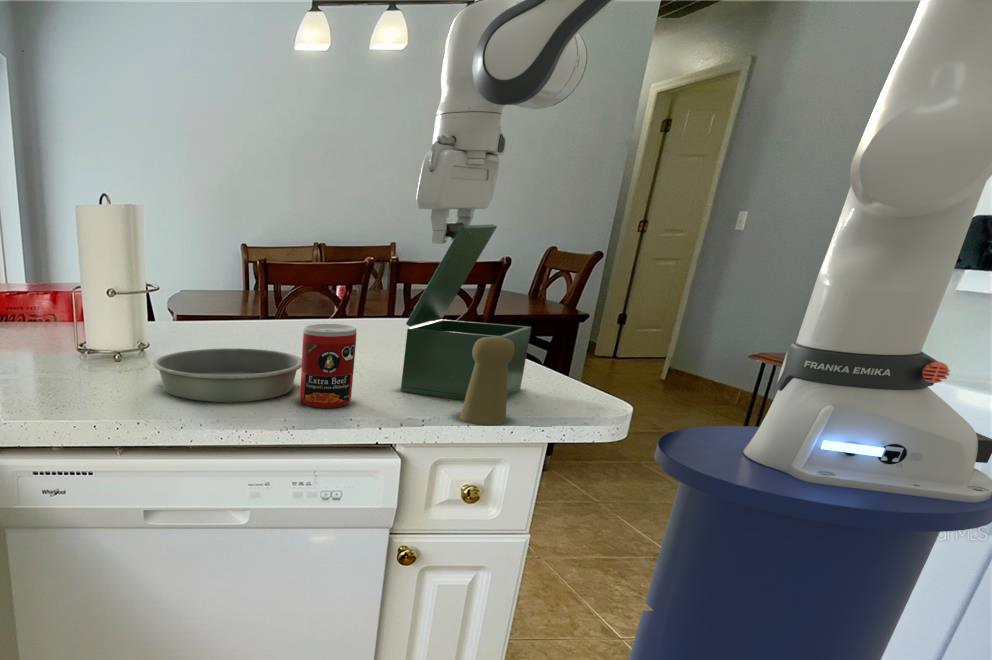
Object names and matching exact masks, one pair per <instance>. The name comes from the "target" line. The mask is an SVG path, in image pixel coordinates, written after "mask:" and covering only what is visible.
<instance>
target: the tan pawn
mask: <svg viewBox="0 0 992 660" xmlns="http://www.w3.org/2000/svg"><path fill="white" fill-rule="evenodd" d="M514 351H515V348H514V343H513V341H511V340H510V339H507V338H503V337H484V338H480V339H478V340H477V341H476V343H475V344H474V347H473V352H472V354H473V359H474V360H475V365H474V369H473V372H472V376H471V379H470V383H469V386H468V390H467V393H466V397H465V400H463V405H462V408H461V412H460V415H459V419H460V420H461V421H464V422H465V423H470V424H475V425H485V426H486V425H487V426H494V425H501V424H505V423H507V401H508V400H507V399H508V396H507V369H508V363H509V362H510V361H511V360H512V358H513V356H514Z"/></svg>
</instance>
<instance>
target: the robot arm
mask: <svg viewBox="0 0 992 660" xmlns="http://www.w3.org/2000/svg"><path fill="white" fill-rule="evenodd" d="M615 1H616V0H522V1H520V2H519V3H517V2H516V1H515V0H475V1H473V2H471V3H469V4H467V5H465V7H463V9H461V10H460V11H459V12H458V13H457V14H456V15H455V17H454V20H453V22H452V24H451V26H450V30H449V34H448V38H447V42H446V46H445V51H444V56H443V61H442V62H443V63H442V69H441V76H440V86H441V87H440V88H441V96H440V102H439V106H437V110H436V112H435V120H434V127H433V134H432V142H431V146H430V149H429V151H427V152H426V154H425V156H424V158H423V161H422V164H421V169H420V175H419V179H418V185H417V190H416V198H415V203H416V207H417V209H419V210H431V213H430V223H431V228H432V229H431V230H432V233H431V243H432V244H438V245H442V244H446V243H447V241H448V237H447V236H448V231H446V230H447V223H448V222H447V221H448V220H447V219H448V218H449V216H450V210H457V212H456V219H457V220H456V223H457V222H461V223H463V224H464V225H465V226H470V225H471V223H472V221H473V219H474V216H475V215H474V214H475V210H486V209H488V208H489V206H490V204H491V202H492V199H493V197H494V194H495V193H494V192H495V189H496V184H497V180H498V174H499V170H500V169H499V168H500V157H499V156H503V155H504V154H505V153H506V152H505V151H506V147H507V139H506V137H505V135H504V134H503V131H502V127H501V120H502V113H503V109H504V108H505V107H506V106H514V107H515V106H516V107H519V108H526V109H530V110H542V109H547V108H549V107H553V106H555V105H558V104H559V103H561V102H563V101H564V100H565V99H567V98H568V97H569V96H570V95H571V94H572V93H574V91H575V90H576V89H577V87H578V86H579V84H580V83H581V80H582V78H583V77H584V74H585V71H586V69H587V64H588V49H587V45H586V42H585V39H584V38H583V37H582V36H581V34H579V33H580V32H581V31H582V30H583V29H584V28H586V26H588V25H589V24H590V23H592V21H594V19H596V18H597V17H598V16H599V15H601V13H602V12H604V11H605V10H606V9H607V8H608V7H610V5H612V4H613V3H614V2H615ZM849 170H850V171H849V183H850V187H849V190H848V193H847V196H846V199H845V201H844V204H843V207H842V210H841V213H840V215H839V218H838V221H837V224H836V227H835V230H834V232H833V235H832V237H831V240H830V243H829V245H828V248H827V251H826V253H825V256H824V259H823V261H822V263H821V267H820V269H819V271H818V275H817V278H816V281H815V283H814V287H813V289H812V293H811V295H810V298H809V302H808V305H807V308H806V310H805V314H804V316H803V320H802V323H801V326H800V329H799V332H798V336H797V338H796V341H793V342H791V344H790V347H789V349H788V351H787V352H786V353H785V356H784V359H783V362H782V365H781V368H780V371H779V375H778V378H777V385H776V387H777V388H776V389H777V391H776V393H775V396H774V398H773V400H772V402H771V404H770V407H769V409H768V411H767V412H766V415H765V417H764V418H763V420H762V422H761V424H760V425H759V426H758V427H759V429H758V431H757V432H756V434H755V435H754V437H753V438H752V440H751V441H750V443H749V444H748V445H747V447H746V448H745V449H744V451H743V452H744V454H745V455H746V456H747V457H748V458H750V459H751V460H753V461H755V462H757V463H760V464H762V465H765V466H768V467H771V468H774V469H777V470H780V471H783V472H785V473H787V474H789V475H791V476H793V477H795V478H797V479H799V480H802V481H805V482H810V483H817V484H825V485H833V486H841V487H849V488H856V489H864V490H872V491H880V492H888V493H896V494H904V495H912V496H920V497H928V498H935V499H943V500H951V501H959V502H968V503H978V502H983V501H986V500H988V499H990V498H991V496H992V480H991V479H992V478H991V477H990V476H989V475H988V474H987V473H985V472H983V471H982V470H980V469H978V468H975V465H976V463H980V464H981V463H982V464H987V463H988V462H989V460H990V458H991V457H992V438H990V437H989V436H986V435H983V434H981V433H979V432H976V431H975V428H974V427H973V426H972V425H971V424H970V423H969V422H968V421H967V420H966V419H965V418H964V417H963V416H961V414H959V413H958V412H957V411H956V410H955V409H954V408H953V407H952V406H951V405H950V404H948V403H947V402H946V401H945V400H944V399H943V398H942V397H940V396H939V394H937V393H936V392H935V391H933V390H932V389H931V388H930V387H932V386H934V385H935V384H937V383H941V382H943V380H947V379H948V377H949V376H950V372H951V370H950V369H949V367H948V365H947V364H946V363H944V362H941V361H939V360H936V359H935V358H933V357H932V356H930V355H928V354H927V353H926V352H923V351H922V350H923V348H924V345H925V343H926V340H927V338H928V336H929V334H930V330H931V328H932V326H933V323H934V321H935V319H936V316H937V314H938V311H939V308H940V305H942V304H941V303H942V301H943V298H944V296H945V293H946V291H947V288H948V286H949V284H950V281H951V279H952V276H953V274H954V271H955V267H956V264H957V261H958V259H959V255H960V253H961V250H962V248H963V244H964V242H965V240H966V236H967V234H968V231H969V229H970V226H971V223H972V220H973V218H974V215H975V212H976V210H977V208H978V204H979V202H980V199H981V196H982V194H983V191H984V188H985V186H986V184H987V182H988V181H989V179H990V178H991V177H992V0H920V1H919V4H918V6H917V8H916V11H915V14H914V17H913V18H912V21H911V24H910V26H909V28H908V31H907V33H906V36H905V38H904V40H903V43H902V44H901V47H900V49H899V51H898V53H897V56H896V58H895V59H894V62H893V65H892V66H891V69H890V72H889V74H888V76H887V78H886V80H885V82H884V85H883V88H882V90H881V92H880V94H879V97H878V99H877V102H876V104H875V105H874V108H873V111H872V113H871V115H870V118H869V120H868V122H867V124H866V127H865V130H864V132H863V134H862V136H861V139H860V142H859V143H858V146H857V149H856V150H855V153H854V155H853V158H852V161H851V164H850V169H849ZM450 238H451V237H450ZM450 240H451V241H453V240H454V239H453V238H451V239H450Z"/></svg>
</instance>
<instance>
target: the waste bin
mask: <svg viewBox="0 0 992 660" xmlns="http://www.w3.org/2000/svg"><path fill="white" fill-rule="evenodd" d="M531 333H532V326H526V325H513V324H502V323H489V322H478V321H477V322H476V321H467V320H465V321H464V320H452V319H442V318H440V319H436V320H432V321H429V322H425V323H421V324H417V325H414V326H410V327H408V328H407V329H406V339H405V347H404V348H405V349H404V357H403V364H402V365H403V367H402V373H401V374H402V375H401V384H400V392H405V393H411V394H417V395H423V396H430V397H437V398H438V397H439V398H443V399H452V400H457V401H458V400H459V401H464V400H465V397H466V393H467V390H468V386H469V383H470V379H471V376H472V372H473V369H474V365H475V360H474V359H473V354H472V352H473V347H474V344H475V343H476V341H477V340H478V339H480V338H484V337H503V338H507V339H510V340H511V341H513V343H514V348H515V351H514V356H513V358H512V360H511V361H510V362H509V363H508V369H507V397H510V396H511V395H513V394H515V393H516V392H518V391H520V390H521V387H522V382H523V378H524V377H523V376H524V371H525V365H526V360H527V354H528V348H529V343H530V337H531Z"/></svg>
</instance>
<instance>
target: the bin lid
mask: <svg viewBox="0 0 992 660" xmlns="http://www.w3.org/2000/svg"><path fill="white" fill-rule="evenodd" d="M497 228H498V226H497V225H495V224H493V223H492V224H491V223H490V224H470V226H465V225H464V224H463V223H461V222H457V221H456V222H447V230H446V231H448V236H447V238H453V239H454V240H453V241H452V240H451V241H452V242H451V243H450V245H449V246H448V248H447V250H446V252H445V253H444V255H443V257H442V259H441V261H440V262H439V264H438V266H437V268H436V270H435V272H433V273H434V274H433V275H432V277H431V278H430V281H429V282H428V284H427V286H426V287H425V289H424V291H423V293H422V294H421V296H420V297H419V300H418V302H417V303H416V305H415V307H414V309H413V310H412V311H411V313H410V316H409V317H408V318H407V321H406V322H405V325H407V327H415V326H418V325H422V324H426V323H429V322H433V321H437V320H440V319H443V318H444V316H445V314H446V313H447V311H448V309H449V308H450V306H451V305H452V304H453V301H454V299H455V298H456V296H457V295H458V293H459V291H460V289H461V288H462V287H463V284H464V283H465V282H466V279H467V278H468V276H469V275H470V273H471V271H472V269H474V266H475V265H476V264H477V261H478V259H479V258H480V256H481V254H482V253H483V251H484V249H485V248H486V247H487V244H489V241H490V239H491V238H492V236H493V235H494V233H495V231H496V230H497Z"/></svg>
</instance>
